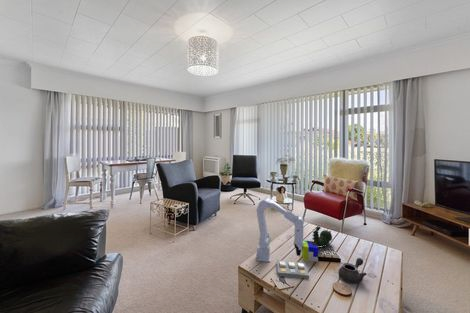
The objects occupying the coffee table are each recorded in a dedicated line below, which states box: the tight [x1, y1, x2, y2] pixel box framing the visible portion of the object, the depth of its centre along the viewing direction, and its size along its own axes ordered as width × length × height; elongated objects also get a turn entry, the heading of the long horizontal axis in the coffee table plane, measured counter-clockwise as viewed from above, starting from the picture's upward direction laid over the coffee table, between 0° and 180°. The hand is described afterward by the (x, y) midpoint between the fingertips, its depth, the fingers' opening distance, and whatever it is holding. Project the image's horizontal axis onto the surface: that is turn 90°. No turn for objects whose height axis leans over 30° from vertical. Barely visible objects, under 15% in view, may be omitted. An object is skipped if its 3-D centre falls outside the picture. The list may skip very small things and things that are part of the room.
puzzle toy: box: [301, 239, 319, 262], centre depth 153 cm, size 10×10×10 cm
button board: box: [276, 259, 310, 279], centre depth 137 cm, size 19×14×2 cm
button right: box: [298, 262, 304, 269], centre depth 137 cm, size 4×4×2 cm
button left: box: [280, 260, 286, 267], centre depth 139 cm, size 4×4×2 cm
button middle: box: [289, 261, 295, 268], centre depth 138 cm, size 4×4×2 cm
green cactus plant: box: [312, 225, 333, 247], centre depth 171 cm, size 9×19×25 cm
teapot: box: [337, 257, 367, 284], centre depth 130 cm, size 19×15×10 cm
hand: (298, 255), depth 139 cm, fingers closed
